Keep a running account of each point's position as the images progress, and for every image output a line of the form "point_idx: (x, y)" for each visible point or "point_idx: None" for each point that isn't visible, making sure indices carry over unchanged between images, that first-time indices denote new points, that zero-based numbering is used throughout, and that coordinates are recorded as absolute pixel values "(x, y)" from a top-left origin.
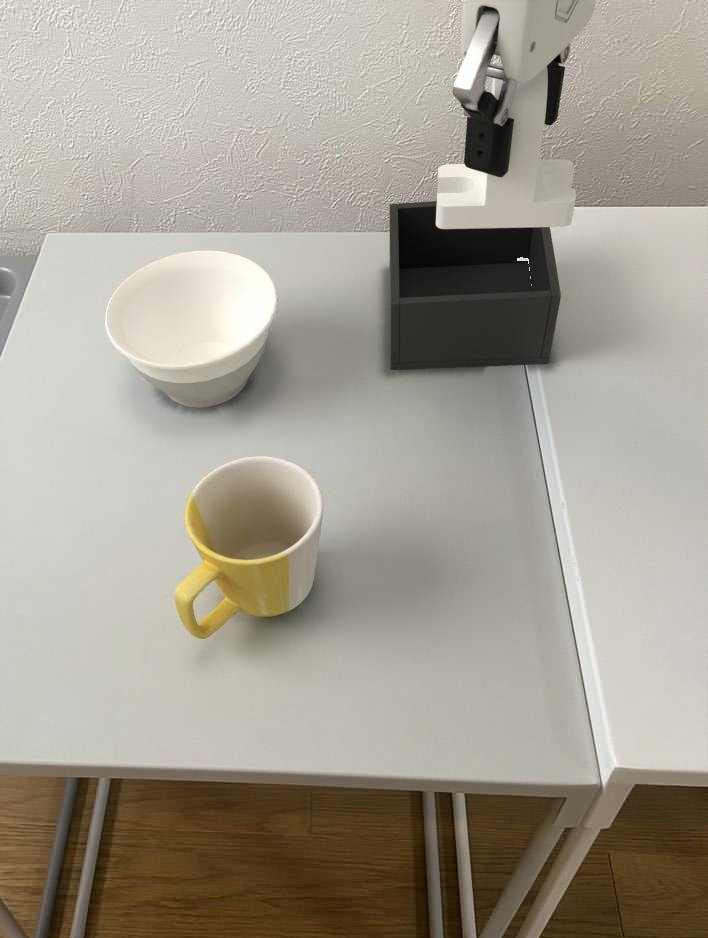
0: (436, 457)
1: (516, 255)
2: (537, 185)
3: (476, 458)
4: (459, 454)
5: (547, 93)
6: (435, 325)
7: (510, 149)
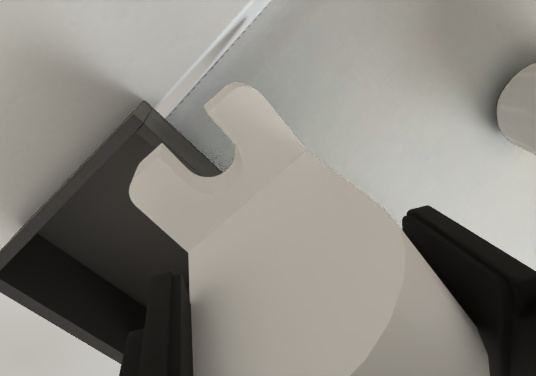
0: (330, 97)
1: (42, 244)
2: (250, 184)
3: (306, 65)
4: (313, 82)
5: (187, 346)
6: None
7: (448, 233)
